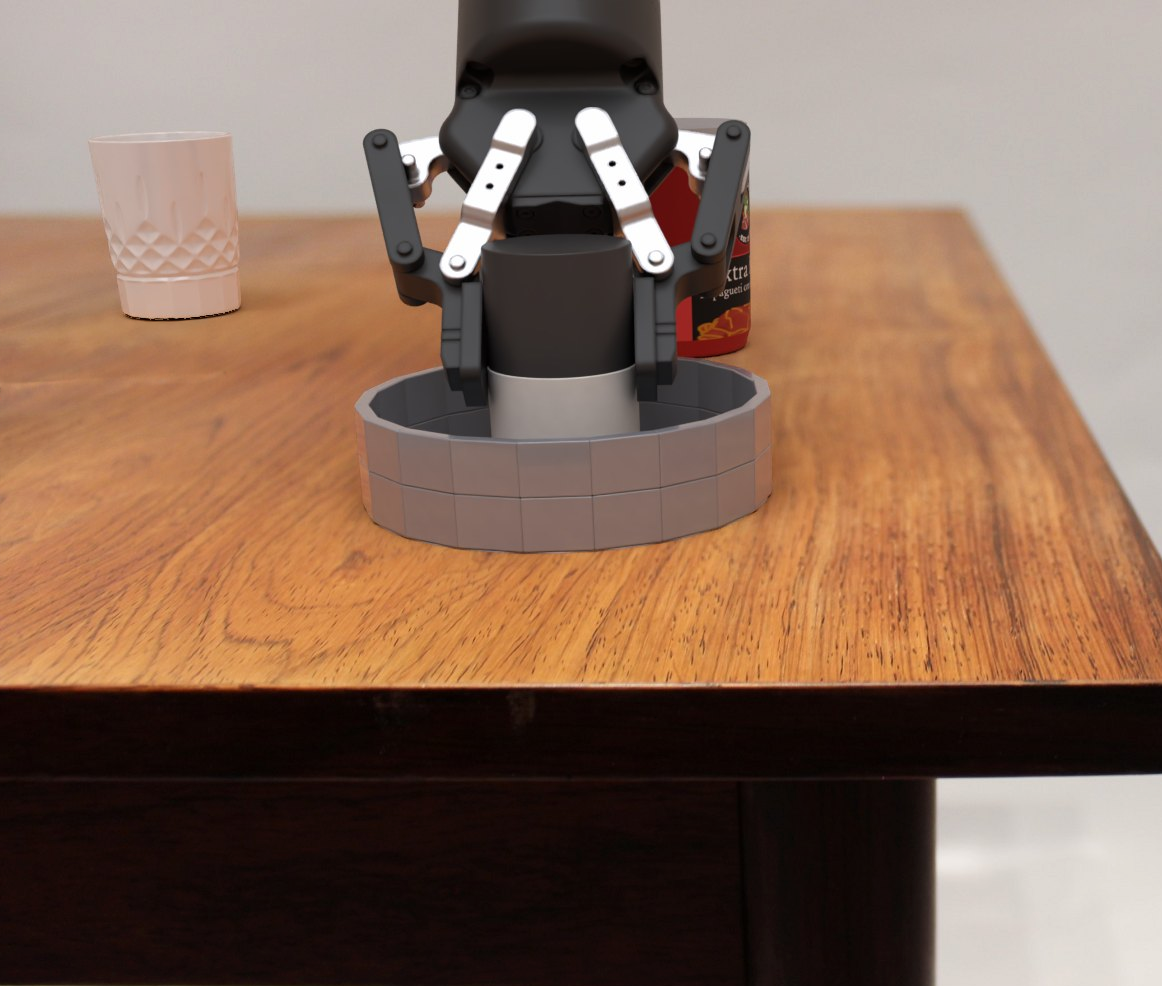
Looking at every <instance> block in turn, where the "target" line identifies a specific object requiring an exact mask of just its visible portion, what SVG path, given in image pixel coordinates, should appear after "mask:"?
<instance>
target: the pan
mask: <svg viewBox="0 0 1162 986" xmlns="http://www.w3.org/2000/svg"><path fill="white" fill-rule="evenodd" d="M657 397H658V401H645V402H639V418H640V432H632V433H623V434H613V435H604V436H594V437H574V438H539V439H508V438H492V436H491V421H490V406H489V391H488V406H482V407H466V404H465V400H464V395H463V391H451V389H450V387H449V385H448V382H447V380H446V377H445V373H444V369H443V365H440V366H434V367H429V368H426V369H423V370H418V371H416V372H412V373H408V374H404V375H400V376H396V377H393V378H391V379H389V380H387V381H384V382H382V383H380V384H377V385H376V386H374V387H371V388H368V389H367V390H365V391H363V393H362V394H361V395H360V397H359V398H358V399H357V401H356V402H355V403H354V405H353V413H354V422H355V433H356V442H357V444H356V445H357V454H358V464H359V475H360V476H359V477H360V486H361V487H360V488H361V496H362V505H363V507H364V508H365V511H366V514H367V515H368V516H369V518H370V520H371V521H372V522H373V523H375V524H376V525H378V526H379V527H380V528H382V529H383V530H386V531H388V532H390V533H391V534H395V535H397V536H399V537H403V538H405V539H408V540H411V541H416V542H420V543H423V544H427V545H433V546H437V547H443V548H449V549H457V550H465V551H474V552H485V553H486V552H487V553H498V554H499V553H500V554H530V555H531V554H532V555H534V554H535V555H537V554H538V555H539V554H569V553H570V554H572V553H573V554H574V553H591V552H601V551H603V552H604V551H614V550H622V549H623V550H624V549H629V548H630V549H631V548H637V547H643V546H645V547H646V546H651V545H656V544H657V545H658V544H662V543H667V542H668V543H669V542H672V541H673V542H674V541H677V540H682V539H685V538H690V537H694V536H695V537H696V536H698V535H701V534H705V533H708V532H712V531H714V530H718V529H721V528H723V527H726V526H728V525H731V524H733V523H736V522H738V521H741V520H742V519H744V518H746V517H748V516H750V515H751V514H752V513H755V512H756V511H757V510H758V509H760V508H761V507H762V506H763V505H764V504H765V503H766V501H767V500H768V498H769V496H770V495H771V494H772V492H773V477H772V476H773V470H772V469H773V461H772V459H773V457H772V454H773V453H772V449H773V448H772V393H771V390H770V386H769V384H768V380H767V379H765V378H763V377H761V376H759V375H758V374H756V373H754V372H752V371H750V370H748V369H746V368H744V367H739V366H735V365H731V364H728V363H724V362H723V363H722V362H720V361H719V362H718V361H713V360H709V359H705V358H699V357H694V358H689V357H680V356H677V374H676V377H675V379H674V381H673V384H672V385H657Z"/></svg>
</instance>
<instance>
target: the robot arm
mask: <svg viewBox="0 0 1162 986" xmlns="http://www.w3.org/2000/svg"><path fill="white" fill-rule="evenodd" d="M457 3H458V4H457V34H456V35H457V36H456V59H455V60H456V61H455V66H456V67H455V87H454V88H455V89H454V102H453V107H452V109H451V111H450V113H449V114H448V116H447V117H446V118H445V119H444V121H443V122H442V124H441V125H440V129H439V130H438V131H439V132H438V134H436V135H431V136H426V137H420V138H415V139H410V140H406V141H401V142H399V140H398V137H397V135H396V133H394V132H393V131H392V130H389V129H387V128H376V129H373V130H371V131H369V132H367V134H365V136H364V138H363V140H362V147H363V148H362V149H363V152H364V156H365V161H366V165H367V170H368V174H369V178H370V182H371V187H372V192H373V196H374V201H375V205H376V210H377V214H378V219H379V222H380V226H381V227H380V228H381V231H382V236H383V240H384V245H385V249H386V253H387V258H388V261H389V265H390V266H391V269H392V274H393V277H394V282H395V287H396V290H397V294H398V297H399V300H400V302H402V303H403V304H404V305H405V306H409V307H414V308H415V307H421V306H424V305H426V304H427V303H429V304H432V305H435V306H437V307H439V308H441V322H440V323H441V325H440V326H441V327H440V330H441V331H440V351H439V355H440V361H441V364H442V365H441V366H443V369H444V373H445V377H446V380H447V382H448V385H449V387H450V389H451V391H463V395H464V400H465V404H466V407H482V406H488V373H487V367H488V354H487V339H486V323H485V308H484V293H483V278H482V263H481V246H482V245H483V244H485V243H488V242H491V241H495V240H500V239H506V238H513V237H522V236H534V235H553V234H592V235H607V236H616V237H621V238H625V239H628V240H630V241H631V243H632V263H633V290H634V331H635V371H636V389H637V402H645V401H658V397H657V385H672V384H673V381H674V379H675V377H676V374H677V335H676V309H677V307H678V305H679V304H680V303H681V302H682V301H683V300H684V299H686V298H688V297H691V296H694V295H698V296H700V297H702V298H714V297H717V296H718V295H720V294H721V293H722V292H723V290H724V288H725V284H726V280H727V276H728V271H729V267H730V262H731V258H732V253H733V249H734V244H735V240H736V235H737V231H738V226H739V222H740V217H741V213H742V209H743V204H744V200H745V195H746V191H747V186H748V182H749V183H750V163H751V162H750V161H751V141H752V140H751V138H752V137H751V136H752V131H751V129H750V127H749V126H748V124H747V125H746V124H745V123H743V122H741V121H738V120H739V119H738V120H729V121H726V122H724V123H722V124H721V125H720V126H719V127H718V129H717V132H716V135H712V134H706V133H699V132H693V131H686V130H680V129H678V127H677V124H676V122H675V120H674V118H675V117H674V116H672V114H671V113H670V112H669V110H668V109H667V107H666V104H665V102H664V73H663V72H664V71H663V45H662V44H663V42H662V41H663V40H662V39H663V37H662V12H661V8H662V7H661V0H458V2H457ZM675 166H677V167H680V168H682V169H683V170H685V171H686V172H687V174H688V176H689V187H690V189H691V190H692V191H693V192H694V193H695V194H697V195H699V199H700V203H699V207H698V212H697V216H696V220H695V224H694V228H693V233H692V237H691V241H689V242H686V243H683V244H680V245H677V246H673V247H669V245H668V243H667V241H666V239H665V237H664V235H663V233H662V231H661V229H660V227H659V225H658V223H657V221H656V219H655V217H654V214H653V211H652V206H651V203H650V200H649V197H650V196H651V195H652V194H653V193H654V191H655V190H656V189H657V188H658V187H659V186H660V184H661V183H662V182H663V181H664V180H665V179H666V177H667V176H668V175H669V174H670V173H671V172H672V170H673V169H674V168H675ZM443 173H447V175H449V177H450V178H451V179H452V180H453V181H454V183H455V184H457V185H458V187H459V188H460V189H461V190H462V192H464V193H465V194H466V195H465V197H464V199H463V202H462V205H461V208H460V217H459V220H458V221H459V222H458V223H457V226H456V228H455V230H454V232H453V234H452V236H451V238H450V239H449V242H448V244H447V246H446V248H445V249H444V252H443V251H440V250H436V249H433V248H428V247H425V246H423V242H422V238H421V237H422V236H421V233H420V229H419V224H418V220H417V217H416V212H415V209H421V208H423V207H424V206H425V204H426V201H427V200H428V199H429V198H430V196H431V195H432V192H433V182H434V180H435V179H436V178H437V177H438V176H439V175H440V174H443Z"/></svg>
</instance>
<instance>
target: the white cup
mask: <svg viewBox="0 0 1162 986" xmlns="http://www.w3.org/2000/svg"><path fill="white" fill-rule="evenodd" d="M87 144H88V149H89V154H90V160H91V165H92V170H93V175H94V179H95V186H96V190H97V197H98V201H99V207H100V212H101V217H102V223H103V228H104V232H105V236H106V238H107V244H108V251H109V257H110V260H111V262H112V263H111V264H113V267H114V270H115V272H116V273H117V274H116V277H115V278H116V283H117V289H118V295H119V301H120V306H121V310H122V313H123V312H124V313H126V314H128V315H132V316H138V317H152V318H155V317H157V318H160V317H161V318H163V317H166V318H167V317H193V316H204V315H212V314H218V313H223V314H226V313H225V312H228V313H230V312H229V311H231V312H233V311H232V310H234V311H236V310H235V309H237V310H238V309H239V308H240V307H241V305H242V291H241V279H240V268H239V266H238V264H239V263H240V259H241V254H240V253H241V251H240V236H239V221H238V217H239V216H238V199H237V185H236V173H235V161H234V159H235V157H234V146H233V135H232V133H230V132H227V131H212V130H211V131H209V130H208V131H206V130H199V131H197V130H196V131H195V130H193V131H192V130H190V131H183V130H182V131H155V132H137V133H135V132H134V133H123V134H121V133H120V134H111V135H103V136H102V135H101V136H95V137H91V138H88V139H87ZM218 315H219V314H218Z"/></svg>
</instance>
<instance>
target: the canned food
mask: <svg viewBox="0 0 1162 986" xmlns="http://www.w3.org/2000/svg"><path fill="white" fill-rule="evenodd" d="M673 118H674V120H675V122H676V124H677V127H678V129H680V130H686V131H693V132H699V133H706V134H712V135H716V132H717V129H718V127H719V126H720V125H721V124H722V123H724V122H726V121H729V120H738V121H741V122H743V123H745V124H746V125H747V126H748V123H747V122H746V121H744V120H742V119H737V118H722V117H673ZM750 198H751V197H750V181H749V182H748V186H747V191H746V195H745V200H744V204H743V209H742V213H741V217H740V222H739V226H738V231H737V235H736V240H735V244H734V249H733V253H732V258H731V262H730V267H729V271H728V276H727V280H726V284H725V288H724V290H723V292H722V293H721V294H720V295H718V296H717V297H714V298H702V297H700V296H698V295H694V296H691V297H688V298H686V299H684V300H683V301H682V302H681V303H680V304H679V305H678V307H677V309H676V335H677V356H680V357H689V358H704V357H705V358H706V357H713V356H718V355H724V354H728V353H732V352H736V351H738V350H741V349H742V348H744V347H745V346H746V344H747V342H748V338H749V336H750V335H749V334H750V330H751V328H752V309H751V308H752V302H751V300H752V299H751V295H752V294H751V293H752V291H751V289H752V288H751V227H750V226H751V215H750V214H751V212H750V211H751V209H750V208H751V207H750V206H751V205H750V204H751V203H750V202H751V201H750V200H751V199H750ZM649 200H650V203H651V206H652V211H653V214H654V217H655V219H656V221H657V223H658V225H659V227H660V229H661V231H662V233H663V235H664V237H665V239H666V241H667V243H668V245H669V247H673V246H677V245H680V244H683V243H686V242H689V241H691V237H692V233H693V228H694V224H695V220H696V216H697V212H698V207H699V203H700V199H699V195H697V194H695V193H694V192H693V191H692V190H691V189H690V187H689V176H688V174H687V172H686V171H685V170H683V169H682V168H680V167H677V166H675V168H674V169H673V170H672V172H671V173H670V174H669V175H668V176H667V177H666V179H665V180H664V181H663V182H662V183H661V184H660V186H659V187H658V188H657V189H656V190H655V191H654V193H653V194H652V195H651V196H650V197H649ZM633 291H634V290H633Z"/></svg>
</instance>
